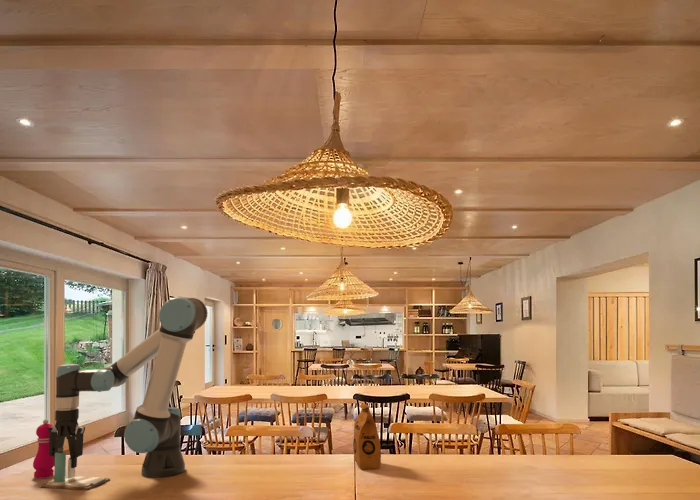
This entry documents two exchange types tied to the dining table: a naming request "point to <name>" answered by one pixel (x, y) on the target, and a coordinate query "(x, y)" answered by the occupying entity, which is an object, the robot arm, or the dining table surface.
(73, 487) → the clipboard
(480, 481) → the dining table surface
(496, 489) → the dining table surface
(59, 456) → the bottle
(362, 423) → the coffee package
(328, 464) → the dining table surface
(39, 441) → the pepper mill
